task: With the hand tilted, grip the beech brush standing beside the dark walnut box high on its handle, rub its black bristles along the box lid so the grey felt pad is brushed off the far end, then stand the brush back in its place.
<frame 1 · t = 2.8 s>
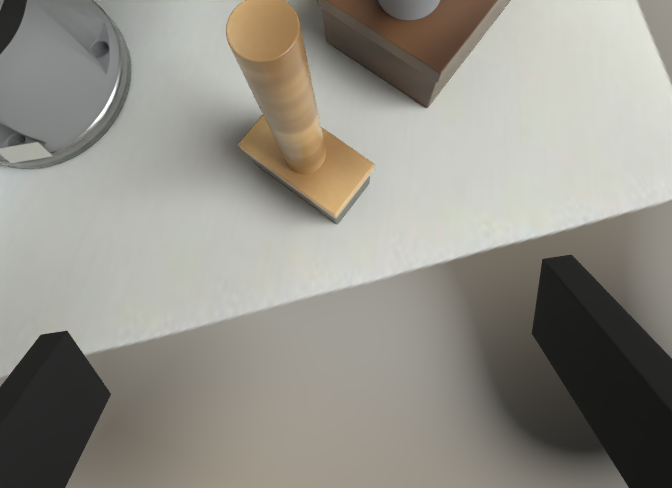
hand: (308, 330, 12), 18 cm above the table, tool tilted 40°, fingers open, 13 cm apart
brush: (312, 173, 32), on the table
walnut box: (423, 14, 33), on the table
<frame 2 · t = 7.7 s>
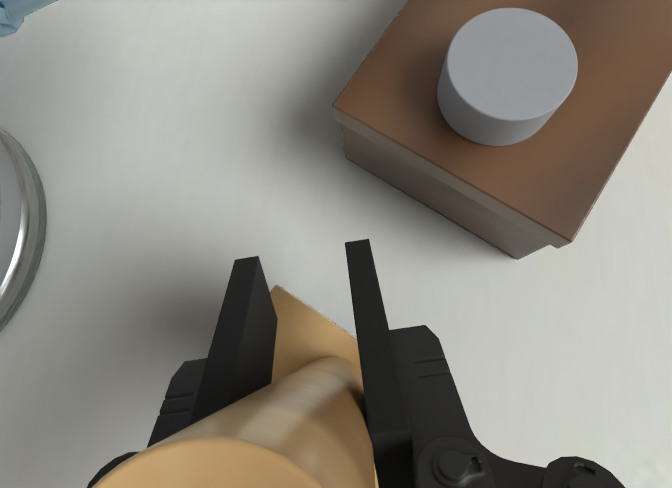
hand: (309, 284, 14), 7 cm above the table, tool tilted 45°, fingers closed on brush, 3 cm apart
brush: (339, 382, 19), on the table, touching gripper
walnut box: (492, 106, 22), on the table
felt pad: (494, 94, 16), point 5 cm above the table, touching walnut box
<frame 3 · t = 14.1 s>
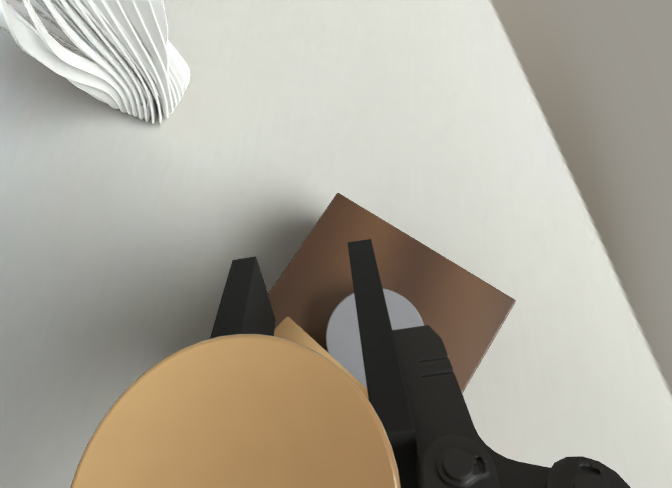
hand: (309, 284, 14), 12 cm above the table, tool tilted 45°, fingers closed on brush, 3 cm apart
brush: (332, 432, 19), point 6 cm above the table, tilted 11°, touching felt pad, gripper
walnut box: (354, 352, 25), on the table
felt pad: (374, 337, 20), point 5 cm above the table, touching brush
shell sculpture: (152, 96, 30), on the table
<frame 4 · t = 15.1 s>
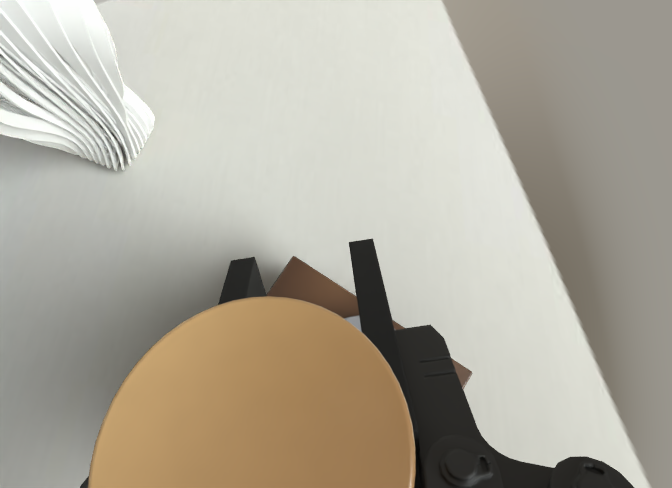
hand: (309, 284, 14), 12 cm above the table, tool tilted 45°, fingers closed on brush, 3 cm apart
brush: (329, 477, 18), point 6 cm above the table, tilted 18°, touching gripper, walnut box
walnut box: (316, 411, 24), on the table
shell sculpture: (116, 140, 29), on the table
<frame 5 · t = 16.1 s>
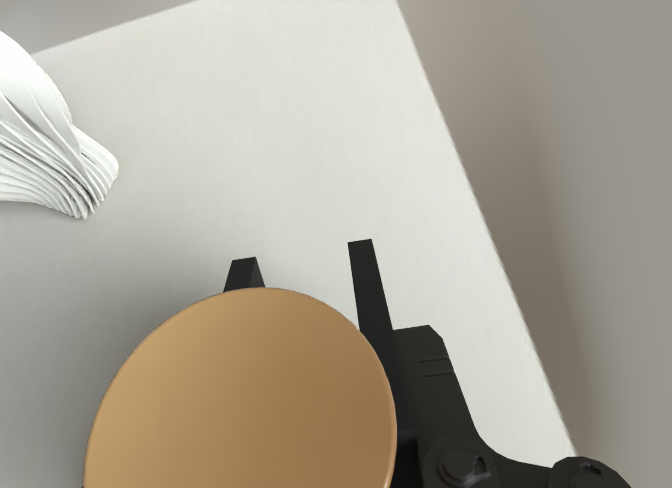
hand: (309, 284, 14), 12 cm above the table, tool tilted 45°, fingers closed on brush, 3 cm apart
shell sculpture: (81, 185, 29), on the table
when the fingers open (7 cm above the table, at t = 24.4 s): brush drops 1 cm, on the table.
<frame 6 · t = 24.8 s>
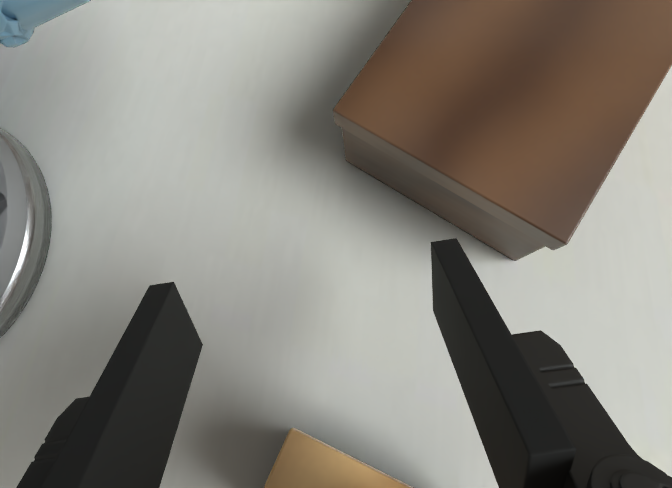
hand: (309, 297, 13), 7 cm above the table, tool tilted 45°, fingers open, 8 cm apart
walnut box: (490, 110, 22), on the table
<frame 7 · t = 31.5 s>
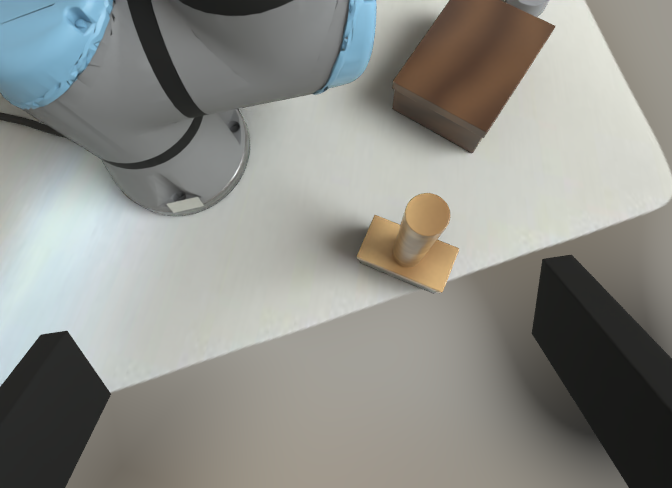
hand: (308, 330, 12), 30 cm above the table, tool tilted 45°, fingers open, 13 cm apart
brush: (403, 260, 42), on the table
walnut box: (462, 84, 45), on the table
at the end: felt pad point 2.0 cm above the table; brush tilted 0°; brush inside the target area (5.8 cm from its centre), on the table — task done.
